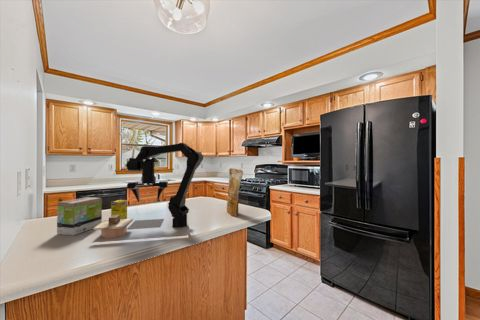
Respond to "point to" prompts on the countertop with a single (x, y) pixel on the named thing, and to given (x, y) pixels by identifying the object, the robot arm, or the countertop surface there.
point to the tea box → (78, 215)
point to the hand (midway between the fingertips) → (148, 201)
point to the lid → (113, 223)
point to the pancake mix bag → (233, 191)
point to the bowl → (113, 232)
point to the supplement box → (119, 208)
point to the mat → (146, 224)
